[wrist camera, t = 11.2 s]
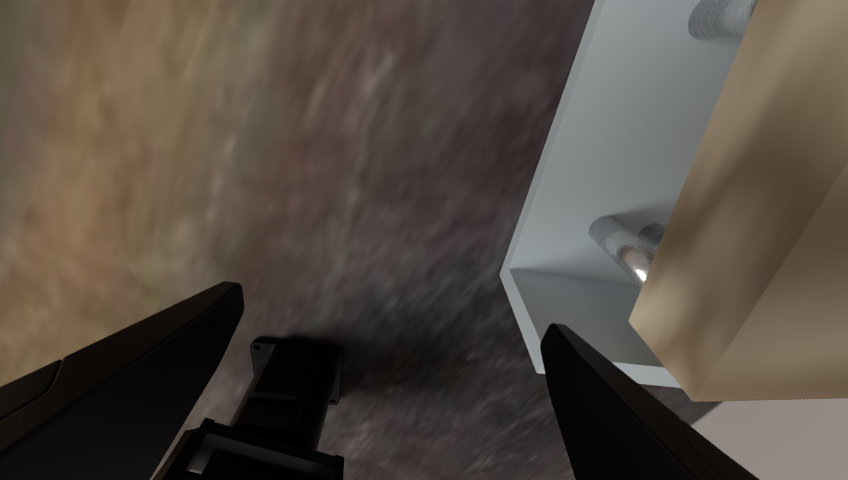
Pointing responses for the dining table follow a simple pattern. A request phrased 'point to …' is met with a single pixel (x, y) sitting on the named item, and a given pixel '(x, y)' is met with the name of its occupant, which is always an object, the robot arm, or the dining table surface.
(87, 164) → the dining table surface
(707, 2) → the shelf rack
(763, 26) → the shelf board
